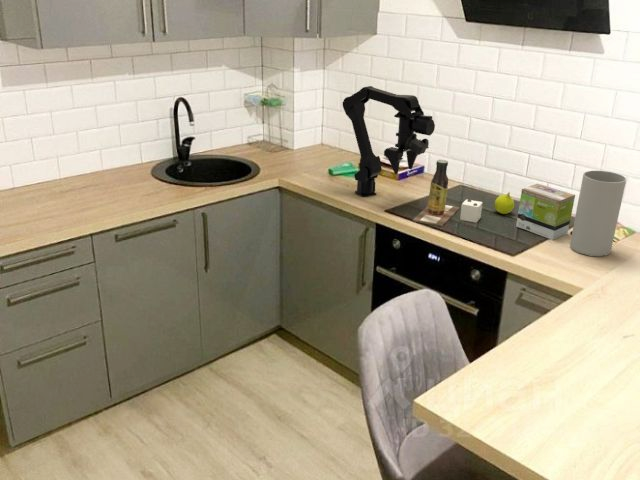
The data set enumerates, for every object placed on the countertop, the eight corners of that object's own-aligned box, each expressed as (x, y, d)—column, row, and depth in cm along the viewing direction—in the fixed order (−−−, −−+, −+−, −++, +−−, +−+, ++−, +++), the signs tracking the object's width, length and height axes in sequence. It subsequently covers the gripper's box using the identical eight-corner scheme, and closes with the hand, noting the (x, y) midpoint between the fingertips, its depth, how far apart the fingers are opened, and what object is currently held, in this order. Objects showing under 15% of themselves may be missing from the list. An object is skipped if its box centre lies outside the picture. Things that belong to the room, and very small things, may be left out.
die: (464, 214, 237) (466, 197, 234) (480, 217, 235) (482, 200, 232) (460, 219, 232) (462, 202, 230) (476, 222, 230) (478, 205, 227)
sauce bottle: (423, 211, 237) (428, 159, 229) (436, 208, 240) (441, 157, 232) (436, 217, 232) (441, 164, 224) (448, 213, 235) (454, 161, 227)
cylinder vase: (574, 255, 205) (588, 181, 195) (566, 240, 216) (579, 169, 206) (615, 258, 203) (631, 183, 193) (604, 243, 215) (619, 171, 205)
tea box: (514, 227, 226) (520, 187, 220) (530, 221, 232) (537, 182, 226) (552, 241, 216) (560, 199, 210) (568, 234, 222) (576, 193, 216)
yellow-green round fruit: (508, 218, 235) (512, 192, 231) (490, 213, 239) (493, 188, 235) (515, 212, 240) (519, 187, 236) (498, 208, 244) (501, 183, 240)
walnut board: (431, 203, 247) (431, 202, 247) (459, 209, 242) (459, 207, 242) (412, 221, 230) (412, 219, 230) (442, 226, 225) (442, 224, 225)
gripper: (409, 139, 224) (406, 181, 230) (438, 130, 237) (434, 170, 243) (384, 133, 231) (381, 174, 237) (413, 125, 243) (410, 164, 250)
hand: (403, 171), depth 241 cm, fingers open, 9 cm apart
